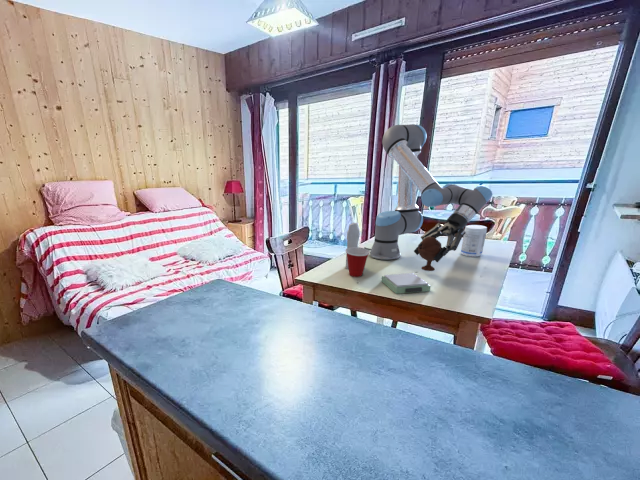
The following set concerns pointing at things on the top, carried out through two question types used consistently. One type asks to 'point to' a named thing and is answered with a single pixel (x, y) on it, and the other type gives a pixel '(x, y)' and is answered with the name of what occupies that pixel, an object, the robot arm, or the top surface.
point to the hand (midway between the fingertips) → (425, 256)
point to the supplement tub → (473, 240)
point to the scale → (405, 283)
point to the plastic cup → (356, 260)
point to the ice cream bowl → (429, 251)
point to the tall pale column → (352, 237)
